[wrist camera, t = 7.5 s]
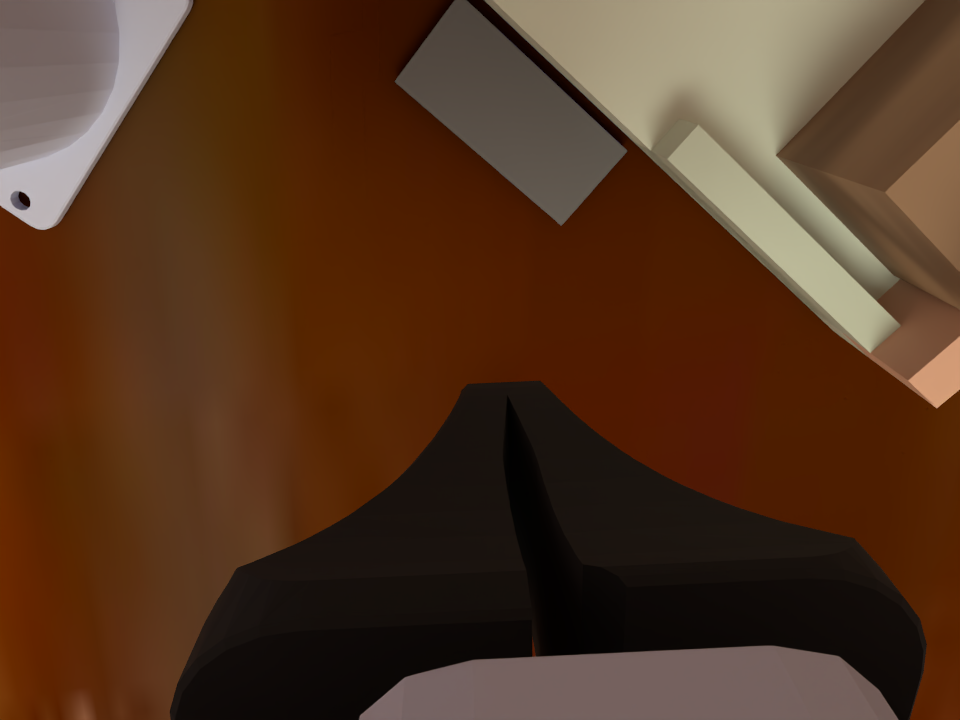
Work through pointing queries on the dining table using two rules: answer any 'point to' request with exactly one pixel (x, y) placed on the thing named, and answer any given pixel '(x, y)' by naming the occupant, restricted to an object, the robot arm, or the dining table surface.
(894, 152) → the walnut block
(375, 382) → the dining table surface
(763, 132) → the trap lane
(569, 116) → the mats
